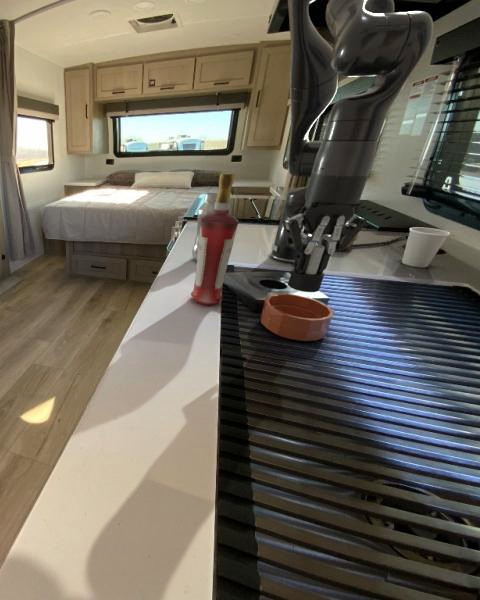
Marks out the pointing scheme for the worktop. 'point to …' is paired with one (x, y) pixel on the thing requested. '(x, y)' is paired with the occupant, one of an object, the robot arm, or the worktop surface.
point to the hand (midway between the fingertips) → (308, 271)
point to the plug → (309, 273)
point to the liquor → (215, 246)
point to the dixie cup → (423, 245)
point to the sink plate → (264, 287)
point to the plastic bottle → (203, 211)
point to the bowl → (296, 317)
